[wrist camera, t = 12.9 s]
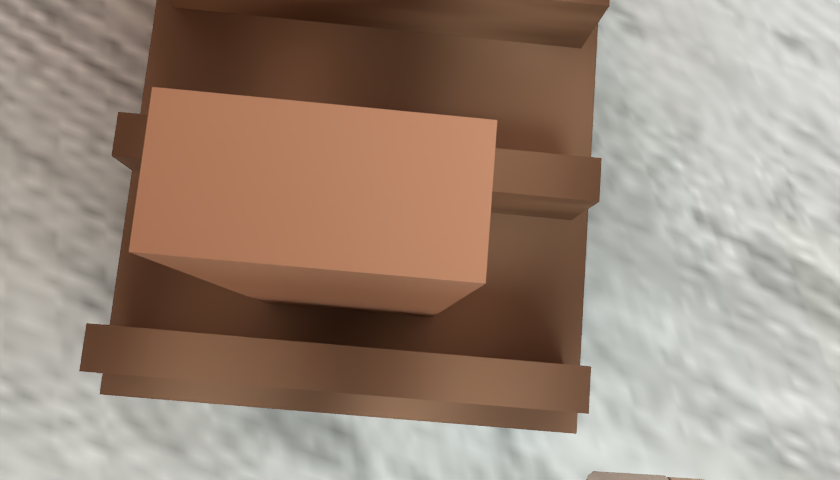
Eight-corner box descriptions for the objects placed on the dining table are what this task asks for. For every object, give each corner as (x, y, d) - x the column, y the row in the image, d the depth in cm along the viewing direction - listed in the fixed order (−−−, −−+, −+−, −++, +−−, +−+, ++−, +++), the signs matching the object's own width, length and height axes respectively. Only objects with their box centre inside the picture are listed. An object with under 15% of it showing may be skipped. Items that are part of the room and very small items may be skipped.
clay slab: (265, 303, 22) (128, 251, 10) (274, 224, 23) (151, 86, 11) (431, 317, 22) (485, 283, 11) (438, 238, 23) (497, 120, 11)
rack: (117, 390, 23) (54, 401, 19) (177, -30, 25) (133, -111, 21) (563, 428, 24) (606, 446, 19) (587, 12, 26) (629, -59, 21)
